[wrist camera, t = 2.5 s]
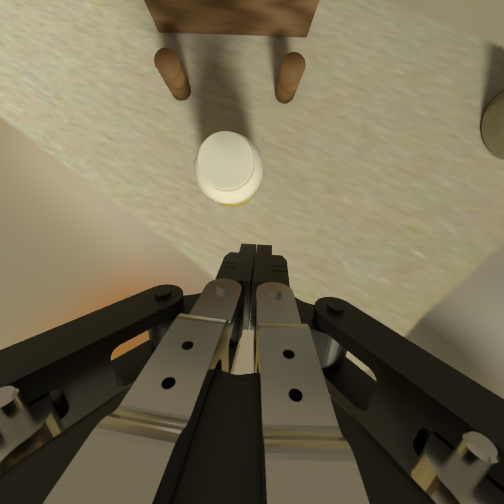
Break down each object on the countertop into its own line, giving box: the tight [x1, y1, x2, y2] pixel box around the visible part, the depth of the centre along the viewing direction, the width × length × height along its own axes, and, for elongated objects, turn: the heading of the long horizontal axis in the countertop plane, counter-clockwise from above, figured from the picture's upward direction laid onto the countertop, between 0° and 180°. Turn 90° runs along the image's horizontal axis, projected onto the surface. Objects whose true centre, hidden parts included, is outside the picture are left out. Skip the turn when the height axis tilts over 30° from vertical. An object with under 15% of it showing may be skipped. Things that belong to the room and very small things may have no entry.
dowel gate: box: [154, 48, 305, 104], centre depth 29 cm, size 15×2×6 cm, turn 89°
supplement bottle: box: [194, 131, 263, 207], centre depth 27 cm, size 7×7×13 cm
